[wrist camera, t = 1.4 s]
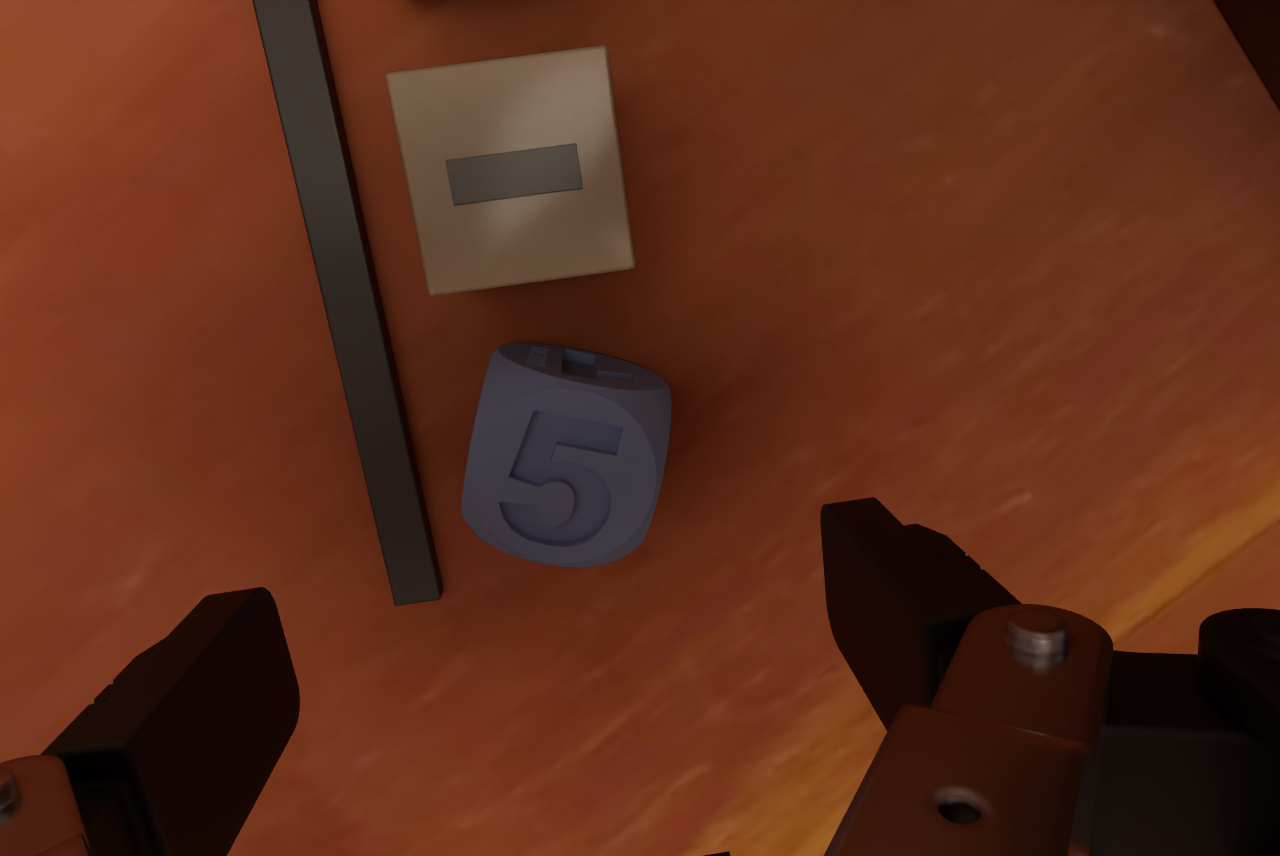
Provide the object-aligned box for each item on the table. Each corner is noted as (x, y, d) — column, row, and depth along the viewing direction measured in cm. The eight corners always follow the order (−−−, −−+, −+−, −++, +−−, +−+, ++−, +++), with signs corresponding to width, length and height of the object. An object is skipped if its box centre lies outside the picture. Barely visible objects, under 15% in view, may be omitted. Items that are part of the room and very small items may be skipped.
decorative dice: (662, 365, 20) (681, 404, 17) (628, 513, 21) (638, 582, 18) (502, 332, 20) (483, 364, 16) (475, 485, 21) (451, 550, 17)
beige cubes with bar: (213, -198, 17) (98, -321, 13) (561, -239, 17) (554, -372, 13) (398, 597, 22) (357, 687, 18) (665, 558, 22) (683, 638, 18)
